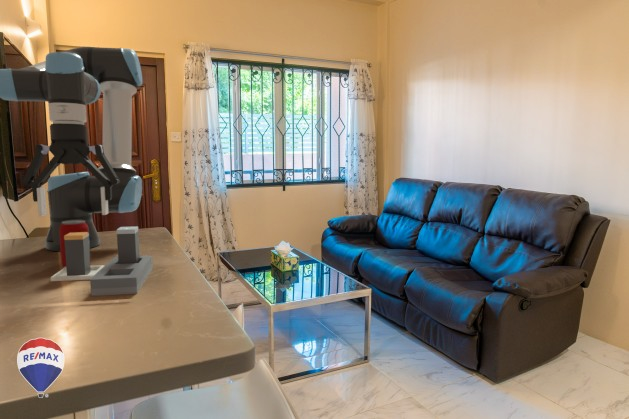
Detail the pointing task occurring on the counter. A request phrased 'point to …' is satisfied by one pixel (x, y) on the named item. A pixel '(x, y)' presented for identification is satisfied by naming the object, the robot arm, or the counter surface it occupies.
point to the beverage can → (71, 227)
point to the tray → (63, 275)
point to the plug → (77, 253)
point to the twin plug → (128, 245)
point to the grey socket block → (121, 277)
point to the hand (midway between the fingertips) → (74, 215)
